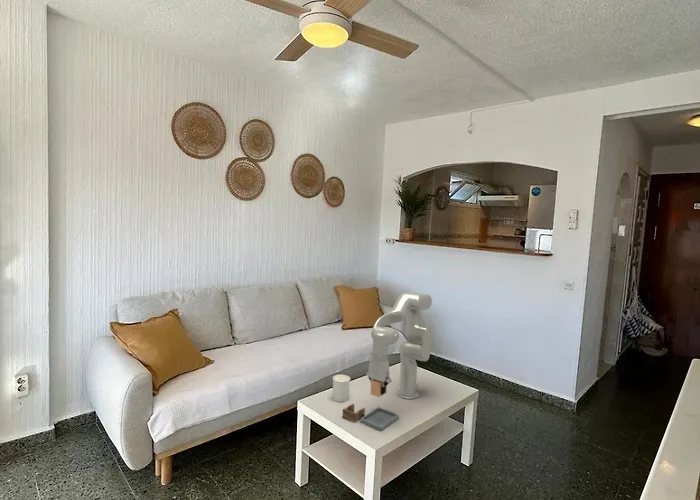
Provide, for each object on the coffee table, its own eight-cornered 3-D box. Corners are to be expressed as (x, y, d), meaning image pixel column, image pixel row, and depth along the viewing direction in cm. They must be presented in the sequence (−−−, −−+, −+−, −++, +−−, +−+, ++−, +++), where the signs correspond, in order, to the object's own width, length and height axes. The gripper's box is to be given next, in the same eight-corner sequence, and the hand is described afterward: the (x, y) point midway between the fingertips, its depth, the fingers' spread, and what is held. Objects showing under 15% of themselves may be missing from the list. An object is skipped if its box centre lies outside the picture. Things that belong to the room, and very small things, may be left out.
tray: (378, 410, 208) (378, 406, 208) (398, 418, 200) (399, 414, 200) (360, 422, 194) (360, 418, 194) (381, 431, 187) (381, 427, 187)
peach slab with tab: (382, 387, 203) (383, 374, 202) (390, 390, 200) (391, 376, 199) (370, 394, 194) (371, 380, 194) (378, 397, 191) (379, 383, 191)
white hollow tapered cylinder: (335, 403, 214) (336, 382, 213) (329, 396, 223) (330, 375, 222) (352, 401, 218) (353, 380, 217) (345, 393, 227) (346, 373, 226)
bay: (352, 411, 205) (352, 403, 205) (364, 416, 201) (364, 408, 200) (342, 417, 199) (342, 409, 198) (354, 422, 194) (355, 414, 194)
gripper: (361, 354, 196) (360, 389, 197) (390, 362, 186) (388, 399, 187) (370, 350, 202) (368, 385, 203) (398, 358, 191) (396, 394, 193)
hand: (378, 391), depth 195 cm, fingers closed on peach slab with tab, 5 cm apart
